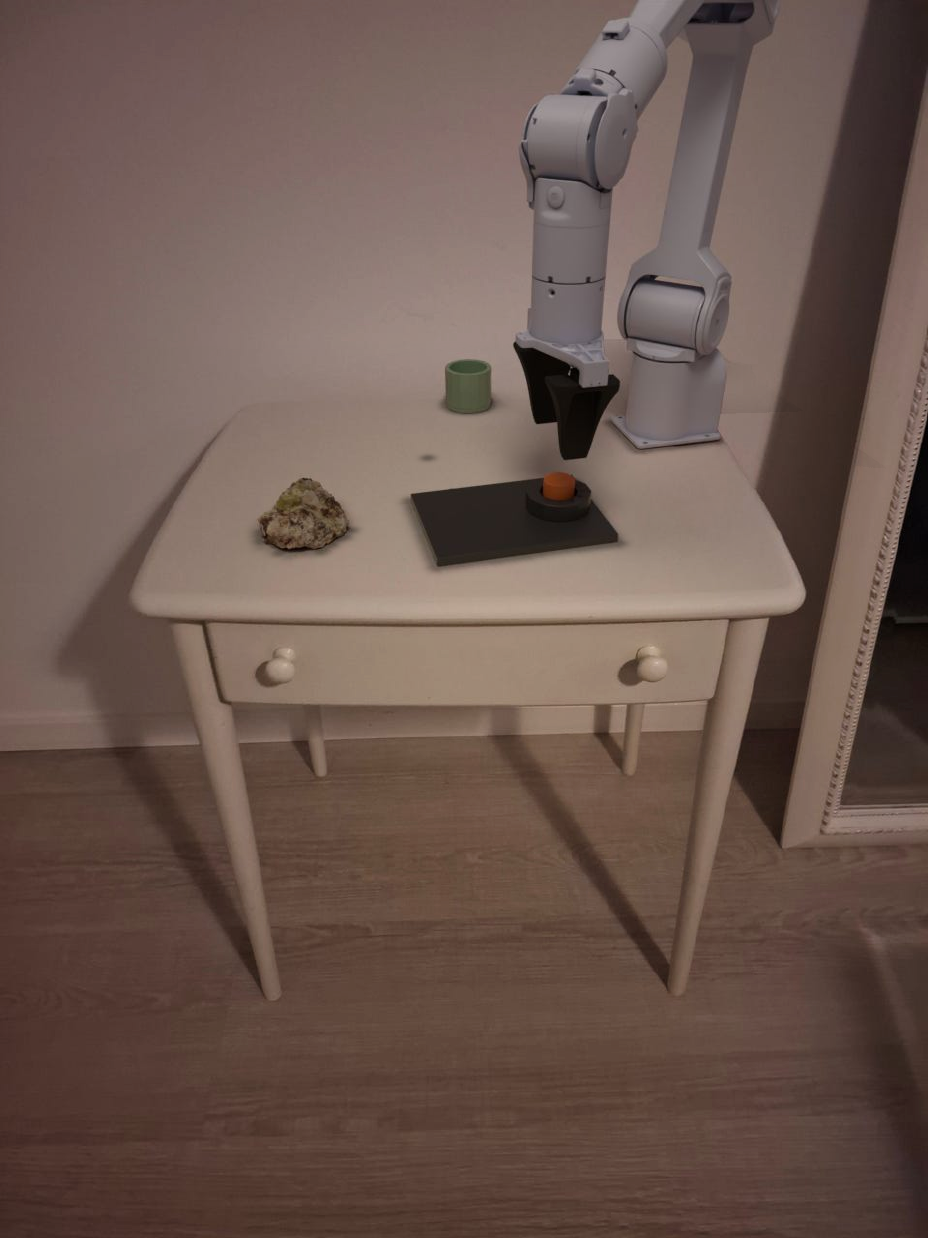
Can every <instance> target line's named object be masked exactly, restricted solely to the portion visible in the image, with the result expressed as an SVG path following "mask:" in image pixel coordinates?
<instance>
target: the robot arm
mask: <svg viewBox="0 0 928 1238" xmlns="http://www.w3.org/2000/svg"><path fill="white" fill-rule="evenodd" d="M781 2H782V0H637V1H636V3H635V5H634V7H633V8H632V10H631V12H630V14H629V15H628V17H622V18H618V19H615V20H614V19H613V20H612V19H610V20H608V21H607V23H606V24H605V25H604V28H603V29H602V31H601V32H600V34H599V35H598V36H597V38H596V39H595V41H594V42H593V44H592V45H591V47H590V48H589V49H588V51H587V53H586V54H585V56H584V57H583V58H582V60H581V61H580V63H579V64H578V66H576V69H575V70H574V71H573V73H572V74H571V76H570V77H569V79H568V80H567V82H566V83H565V85H564V86H563V87H562V89H561V90H560V92H559V93H558V94H557V93H551V94H546V95H545V96H544V97H543V98H541V100H540V101H538V102H536V103H535V104H534V105H533V106H532V107H531V109H530V110H529V112H528V114H527V115H526V118H525V120H524V125H523V127H522V135H521V140H520V141H519V143H518V154H519V162H520V167H521V170H522V173H523V175H524V178H525V181H526V203H528V208H529V209H531V210H532V211H533V224H532V228H533V229H532V255H531V256H532V257H531V286H530V287H531V289H530V292H531V293H530V295H531V296H530V307H528V308H527V321H526V323H527V326H526V327H527V329H526V331H520V332H519V331H518V332H516V333H515V341H514V342H513V343H512V347H513V349H514V352H515V353H516V356H517V357H518V360H519V363H520V365H521V368H522V371H523V373H524V378H525V382H526V387H527V391H528V399H529V403H530V404H529V405H530V410H531V414H532V419H533V421H534V424H535V425H544V424H553V423H556V426H557V441H558V442H557V443H558V448H559V449H558V450H559V453H560V457H561V459H562V460H563V461H571V460H572V461H573V460H579V459H580V460H581V459H586V458H587V457H588V455H589V453H590V450H591V448H592V445H593V441H594V438H595V435H596V432H597V430H598V427H599V424H600V422H601V420H602V417H603V416H604V413H605V411H606V409H607V408H608V406H609V404H610V402H611V401H612V400H613V398H614V397H615V396H616V395H617V393H618V392H619V390H620V388H621V387H620V386H621V380H620V379H619V378H618V377H617V375H615V374H614V373H611V374H609V371H610V360H609V359H608V357H606V354H605V335H604V334H605V333H604V331H603V330H602V327H603V317H604V316H603V315H604V302H605V290H606V278H607V267H608V266H607V265H608V252H609V240H610V228H611V227H610V226H611V215H612V201H613V189H614V188H615V187H616V186H617V185H618V183H620V181H621V180H622V179H623V178H624V176H625V174H626V171H627V168H628V165H629V162H630V158H631V153H632V148H633V145H634V142H635V141H636V139H637V133H638V131H639V124H638V121H639V119H640V118H641V116H642V114H643V113H644V111H645V110H646V108H647V107H648V105H649V104H650V102H651V100H652V99H653V97H654V96H655V95H656V93H657V91H658V90H659V88H660V87H661V85H662V84H663V82H664V80H665V77H666V76H667V75H666V74H667V72H668V65H669V62H668V52H667V50H668V48H669V47H670V45H672V43H673V42H674V41H675V40H676V38H679V39H681V40H682V41H684V42H685V43H687V44H688V45H689V48H690V51H691V54H692V61H691V67H690V71H689V77H688V82H687V86H686V87H687V88H686V93H685V98H684V104H683V109H682V115H681V120H680V125H679V131H678V136H677V142H676V148H675V152H674V157H673V163H672V169H671V174H670V179H669V185H668V189H667V190H668V191H667V196H666V201H665V206H664V212H663V217H662V223H661V226H660V227H661V228H660V234H659V238H658V243H657V246H656V247H654V248H653V249H651V250H650V251H648V252H647V253H645V254H644V255H642V256H641V257H638V258H637V259H636V260H635V261H634V262H633V263H632V264H631V266H630V269H629V272H628V276H627V280H626V284H625V287H624V289H623V291H622V293H621V296H620V299H619V302H618V306H617V314H616V323H617V324H616V325H617V328H618V331H619V334H620V336H621V338H622V339H623V340H625V341H626V350H627V351H631V360H630V370H629V380H628V390H627V401H626V407H625V408H626V410H625V414H624V415H615V416H612V417H611V419H610V421H611V423H612V424H613V425H614V426H615V427H616V428H617V429H618V430H619V431H620V432H621V433H622V435H624V436H625V437H626V438H627V439H628V440H629V441H630V442H631V443H632V444H633V445H634V446H635V448H637V449H641V450H643V449H652V448H661V447H669V446H679V445H686V444H695V443H703V442H711V441H712V442H713V441H719V440H720V439H721V434H720V433H719V432H718V430H719V425H720V419H721V413H722V409H723V408H722V407H723V403H724V396H725V390H726V383H727V366H726V361H725V357H724V355H723V353H722V352H721V350H719V348H717V347H718V346H719V345H720V343H721V341H722V339H723V337H724V334H725V332H726V329H727V325H728V321H729V314H730V296H731V295H730V294H731V290H732V289H731V288H732V275H731V273H730V272H729V270H728V269H727V268H726V266H725V265H724V264H723V263H722V262H721V261H720V259H718V257H717V256H716V255H715V254H714V253H713V251H712V250H711V243H712V238H713V234H714V230H715V229H714V228H715V224H716V219H717V214H718V210H719V205H720V200H721V195H722V191H723V186H724V181H725V176H726V172H727V167H728V161H729V158H730V153H731V149H732V143H733V138H734V133H735V128H736V123H737V118H738V116H739V115H738V114H739V110H740V105H741V101H742V100H741V99H742V96H743V90H744V86H745V81H746V76H747V73H748V68H749V64H750V62H751V61H750V60H751V57H752V53H753V49H754V46H756V45H757V44H759V43H761V42H762V41H764V40H765V39H767V38H769V37H770V36H772V34H773V32H774V27H775V24H776V23H775V22H776V20H777V18H778V16H779V12H780V7H781ZM658 277H664V278H665V277H666V278H671V279H678V280H685V281H691V282H694V283H698V284H699V285H700V286H699V285H694V284H686V283H679V282H673V281H666V280H660V279H657V278H658Z"/></svg>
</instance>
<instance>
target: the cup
mask: <svg viewBox="0 0 928 1238" xmlns="http://www.w3.org/2000/svg"><path fill="white" fill-rule="evenodd" d="M444 383H445V384H444V385H445V405H446V407H447V409H448V410H450V411H452V412H454V413H455V412H456V413H460V414H474V413H475V414H477V413H481V412H484V411H486V410H488V409H489V408H490V407H491V405H492V365H491V364H490V363H489V362H487V361H484V360H480V359H470V358H464V359H457V360H453V361H450V362H448V363H447V364H446V365H445V367H444Z"/></svg>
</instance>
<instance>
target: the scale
mask: <svg viewBox="0 0 928 1238" xmlns="http://www.w3.org/2000/svg"><path fill="white" fill-rule="evenodd" d="M569 474H570V473H569ZM570 475H572V476H573V477H574V478H575V490H574V496H573V498H571V499H567V500H553V499H549V498H546V497H544V496H543V481H544V477H538V478H530V479H529V478H528V479H522V480H513V481H505V482H497V483H488V484H480V485H471V486H465V487H464V486H463V487H456V488H447V489H438V490H432V491H431V490H429V491H423V492H415V493H414V492H413V493H410V503H411V505H412V509H413V511H414V513H415V515H416V518H417V520H418V523H419V526H420V528H421V530H422V533H423V536H424V537H425V540H426V542H427V545H428V547H429V551H430V553H431V555H432V557H433V560H434V562H435V565H436V567H437V568H439V567H446V566H447V567H448V566H454V565H461V564H469V563H476V562H483V561H491V560H497V559H505V558H513V557H519V556H520V557H521V556H528V555H535V554H542V553H549V552H555V551H565V550H572V549H578V548H579V549H580V548H584V547H593V546H601V545H607V544H614V543H615V544H616V543H618V542H619V541H618V540H619V532H617V530H616V529H615V528H614V526H613V525H612V524H611V522H610V521H609V519H607V517H606V516H605V514H604V513H603V512H602V511H601V510H600V508H599V507H598V506H597V504H596V503H595V502H594V501H593V499H592V490H591V488H590V487H589V486H588V484H586V483H585V482H582V481H580V480H578V479H577V478H576V477H575V475H573V474H572V473H571V474H570Z"/></svg>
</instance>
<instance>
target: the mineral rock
mask: <svg viewBox="0 0 928 1238" xmlns="http://www.w3.org/2000/svg"><path fill="white" fill-rule="evenodd" d="M256 520H257V522H258V523H259V530H260V532H261V540H262V542H264V543H265V544H267V543H270V544H273V545H275V546H277V547H278V548H280V549H285V548H287V549H288V550H290V549H295V548H298V549H299V548H304V547H307V548H310V549H313V550H315V549H319V548H324V547H325V545H326V544H330V543H331V542H332V541H334V540H335V539H336V538H339V537H342V536H343V535H344V534H345V532H347V531H348V530H347V527H348V525H350V520H349V519H347V515H346V513H345V510H343V508H342V505H341V503H340V502H339V501H338V500H336V498H335V496H334V495H333V494H332V493H329V491H327V490H326V489H324V488H323V485H322V484H321V482H320V481H317V480H313V479H312V477H311V478H308V477H301V478H298V479H297V480H296V481H294V482H291V484H290V486H289V487H288V488H286V489H285V491H282V493H281V494H280V495H279V497H278V498H277V499H276V501H275V504H274V505H272V508H271V509H270V510H269V511H264V512H263V513H262V514H261V515H260V516H258V518H257V519H256Z"/></svg>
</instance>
